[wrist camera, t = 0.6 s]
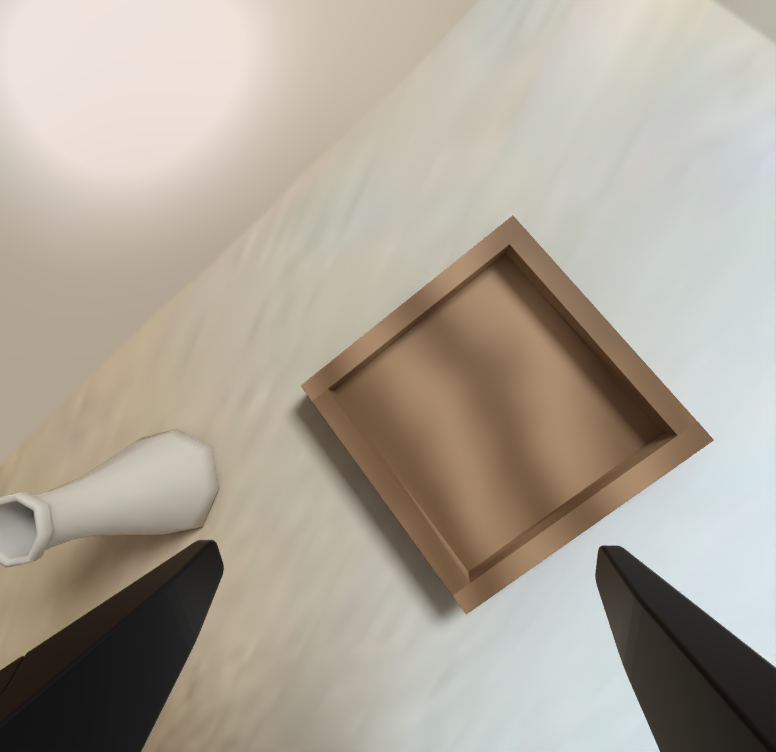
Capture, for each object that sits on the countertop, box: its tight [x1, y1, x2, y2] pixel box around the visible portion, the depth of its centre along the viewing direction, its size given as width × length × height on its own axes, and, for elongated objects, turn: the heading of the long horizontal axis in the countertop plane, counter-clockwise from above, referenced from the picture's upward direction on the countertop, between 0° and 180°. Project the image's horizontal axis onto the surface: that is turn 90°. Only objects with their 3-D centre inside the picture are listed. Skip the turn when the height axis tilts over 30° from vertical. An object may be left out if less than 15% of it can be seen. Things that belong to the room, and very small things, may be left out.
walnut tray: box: [301, 216, 713, 614], centre depth 22 cm, size 16×16×2 cm
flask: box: [0, 429, 219, 567], centre depth 21 cm, size 7×7×10 cm
